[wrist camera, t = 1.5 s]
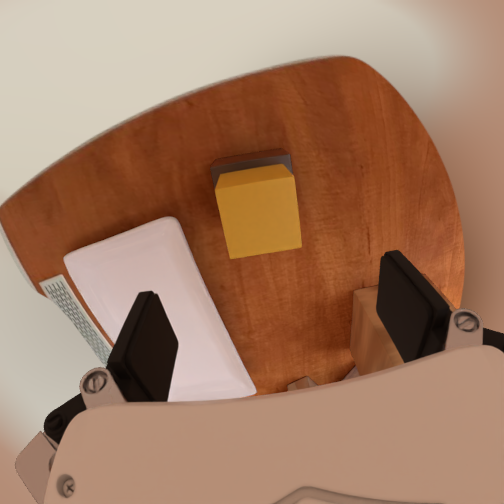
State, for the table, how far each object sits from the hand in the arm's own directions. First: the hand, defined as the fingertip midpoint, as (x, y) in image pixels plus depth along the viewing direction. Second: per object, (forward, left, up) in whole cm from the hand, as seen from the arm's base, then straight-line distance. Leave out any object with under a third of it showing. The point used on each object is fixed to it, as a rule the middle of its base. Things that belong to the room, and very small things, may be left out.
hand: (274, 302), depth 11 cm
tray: (+15, +17, -20) cm, 30 cm away
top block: (0, 0, -15) cm, 15 cm away
